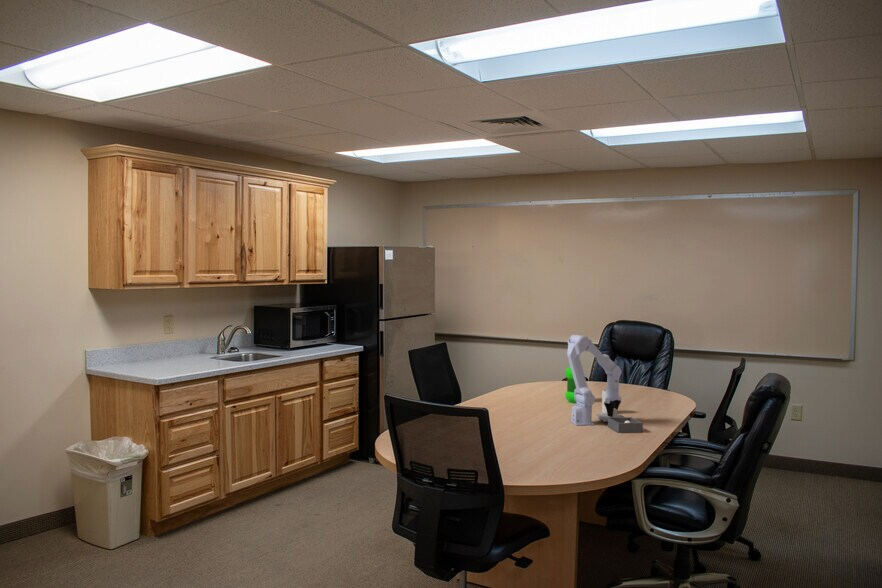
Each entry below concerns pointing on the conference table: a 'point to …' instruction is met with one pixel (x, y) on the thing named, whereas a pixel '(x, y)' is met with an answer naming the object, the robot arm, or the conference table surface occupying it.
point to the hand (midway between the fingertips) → (612, 415)
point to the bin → (625, 425)
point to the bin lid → (605, 416)
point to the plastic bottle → (570, 386)
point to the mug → (604, 395)
